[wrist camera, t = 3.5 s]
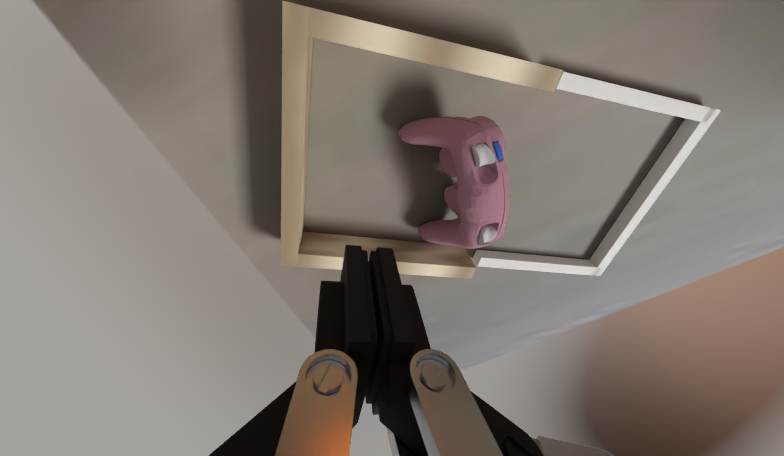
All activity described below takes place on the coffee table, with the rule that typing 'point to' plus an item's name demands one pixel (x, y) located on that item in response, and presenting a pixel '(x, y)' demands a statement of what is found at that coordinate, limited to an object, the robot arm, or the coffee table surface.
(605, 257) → the white bay
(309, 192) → the coffee table surface
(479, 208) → the video game controller
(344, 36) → the wooden u-shaped frame
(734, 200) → the coffee table surface
